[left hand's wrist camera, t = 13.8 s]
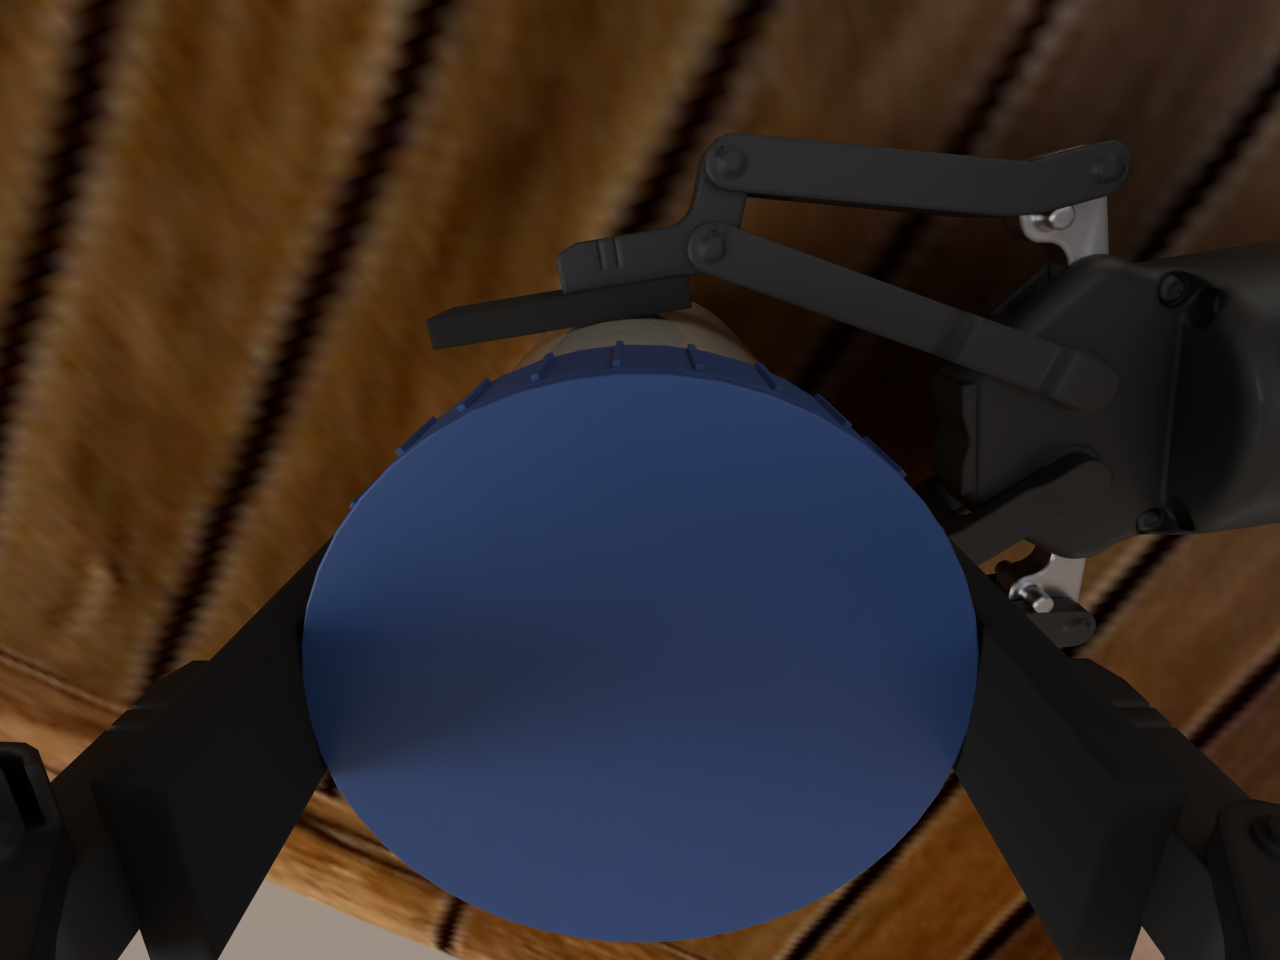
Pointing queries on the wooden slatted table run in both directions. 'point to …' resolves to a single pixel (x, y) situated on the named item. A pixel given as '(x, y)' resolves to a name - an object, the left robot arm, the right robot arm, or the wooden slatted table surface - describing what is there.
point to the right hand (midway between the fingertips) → (488, 500)
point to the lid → (640, 648)
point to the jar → (647, 335)
